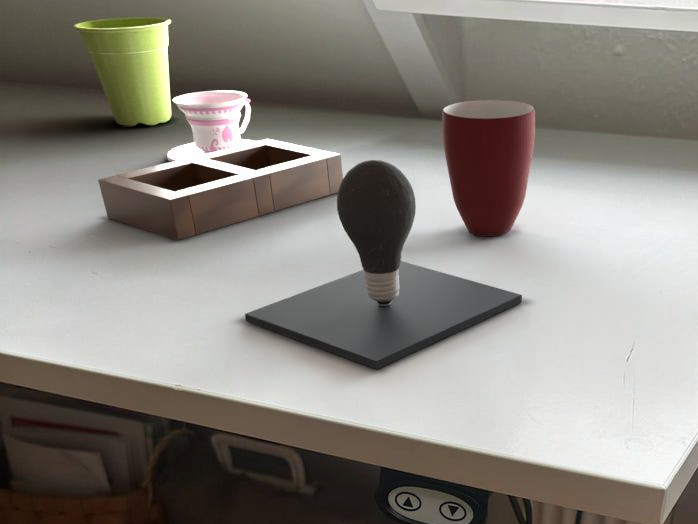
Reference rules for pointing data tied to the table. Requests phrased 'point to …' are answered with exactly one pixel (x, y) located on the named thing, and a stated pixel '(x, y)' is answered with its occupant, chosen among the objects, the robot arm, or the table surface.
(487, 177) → the mug
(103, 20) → the plant pot
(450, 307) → the mat
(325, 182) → the wooden divided tray
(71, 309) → the table surface
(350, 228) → the light bulb
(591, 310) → the table surface
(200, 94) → the teacup
